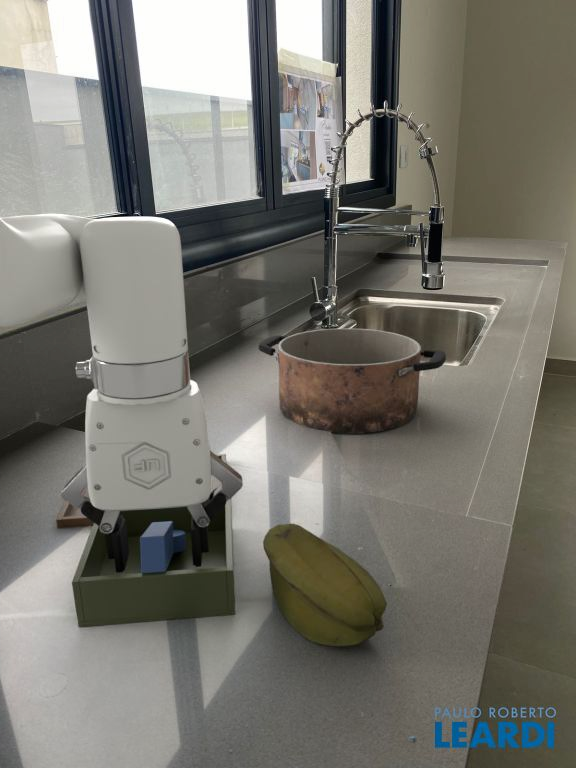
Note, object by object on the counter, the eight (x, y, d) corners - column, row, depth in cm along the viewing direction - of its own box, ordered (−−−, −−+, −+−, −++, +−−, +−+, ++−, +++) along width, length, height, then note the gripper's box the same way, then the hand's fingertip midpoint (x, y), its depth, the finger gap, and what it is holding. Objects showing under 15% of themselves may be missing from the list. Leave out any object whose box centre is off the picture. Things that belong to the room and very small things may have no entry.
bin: (78, 627, 51) (71, 582, 49) (106, 539, 63) (101, 501, 62) (235, 614, 52) (233, 570, 51) (232, 531, 65) (230, 493, 63)
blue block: (129, 574, 50) (127, 538, 50) (147, 547, 61) (146, 517, 61) (177, 571, 50) (176, 534, 51) (187, 544, 61) (186, 514, 61)
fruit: (237, 650, 48) (233, 580, 46) (274, 562, 59) (272, 502, 57) (381, 673, 46) (384, 600, 44) (392, 577, 57) (395, 515, 55)
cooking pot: (234, 419, 95) (231, 353, 91) (289, 378, 114) (289, 322, 111) (426, 449, 83) (431, 375, 80) (451, 397, 103) (456, 336, 99)
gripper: (19, 393, 45) (52, 594, 51) (250, 383, 47) (257, 579, 53) (46, 364, 52) (73, 544, 58) (246, 356, 54) (253, 531, 60)
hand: (160, 559), depth 55 cm, fingers open, 6 cm apart
